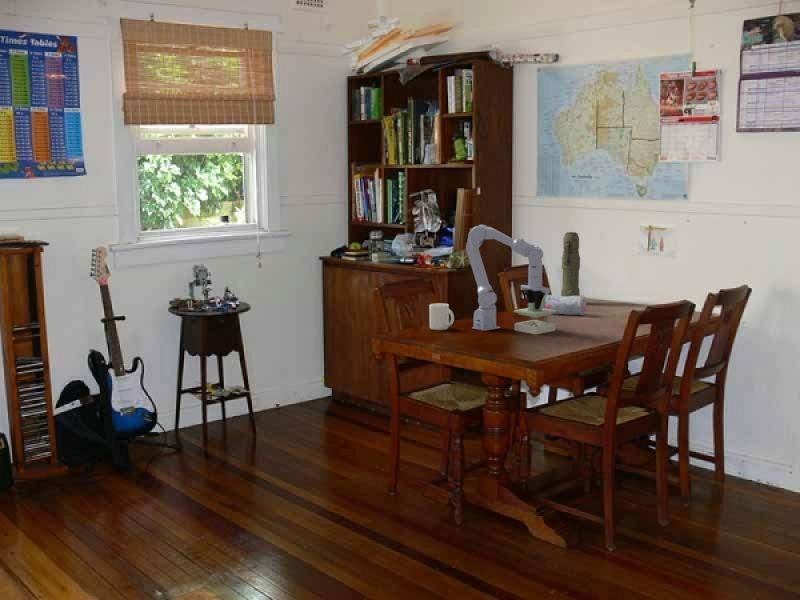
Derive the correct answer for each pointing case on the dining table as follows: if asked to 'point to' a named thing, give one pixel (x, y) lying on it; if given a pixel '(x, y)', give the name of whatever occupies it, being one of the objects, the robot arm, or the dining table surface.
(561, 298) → the pencil case
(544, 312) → the lid
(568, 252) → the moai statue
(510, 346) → the dining table surface
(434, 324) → the mug
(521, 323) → the box
